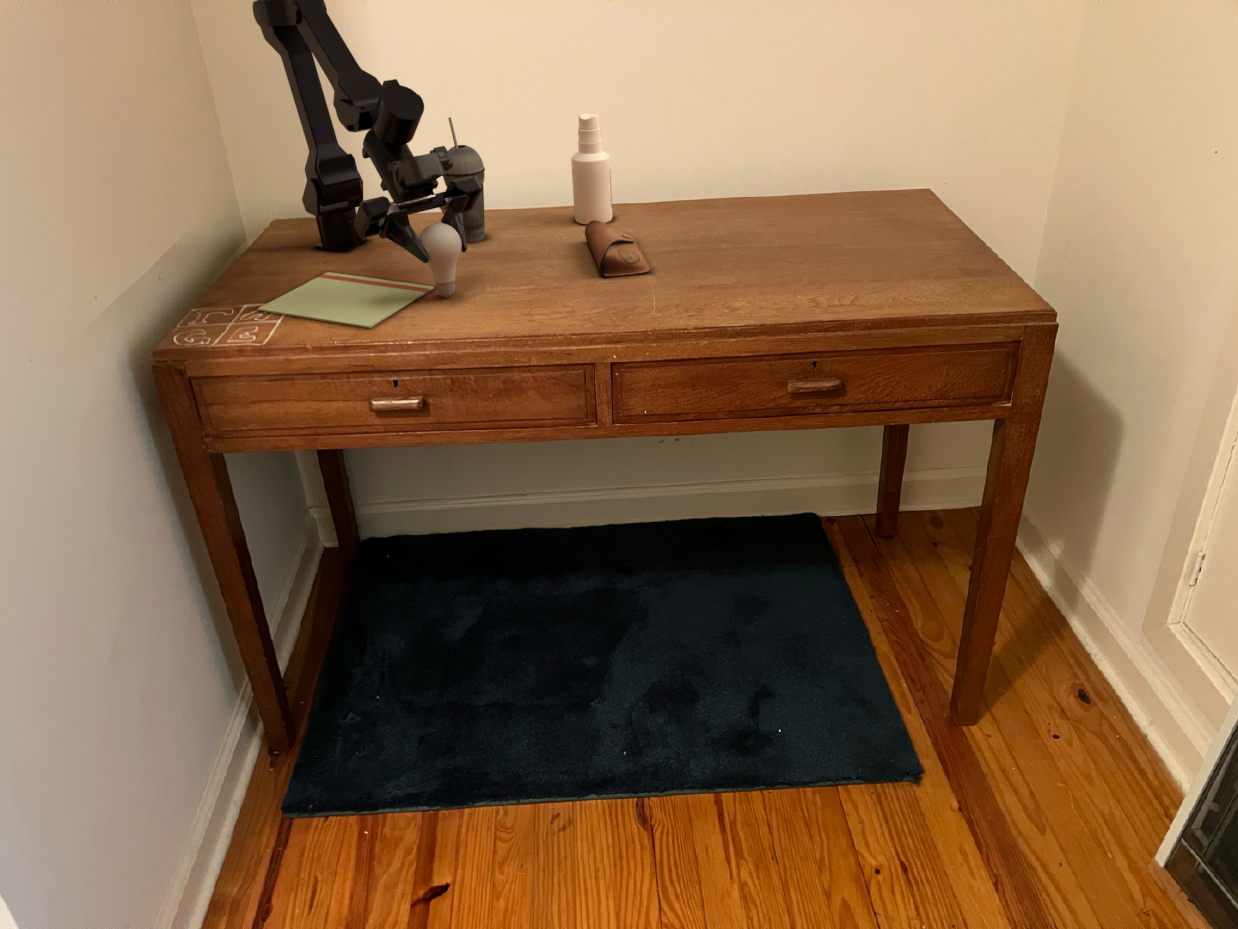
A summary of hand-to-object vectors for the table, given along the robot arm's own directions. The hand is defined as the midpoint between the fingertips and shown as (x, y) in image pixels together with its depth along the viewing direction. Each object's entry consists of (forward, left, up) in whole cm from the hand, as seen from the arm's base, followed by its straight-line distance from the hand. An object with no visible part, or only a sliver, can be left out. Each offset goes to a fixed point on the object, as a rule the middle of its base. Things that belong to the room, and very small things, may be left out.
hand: (446, 256), depth 131 cm
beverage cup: (-12, +26, -7) cm, 29 cm away
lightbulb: (-1, +1, -7) cm, 7 cm away
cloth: (-15, -5, -7) cm, 17 cm away
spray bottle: (+4, +42, -7) cm, 42 cm away
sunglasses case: (+16, +25, -7) cm, 30 cm away
